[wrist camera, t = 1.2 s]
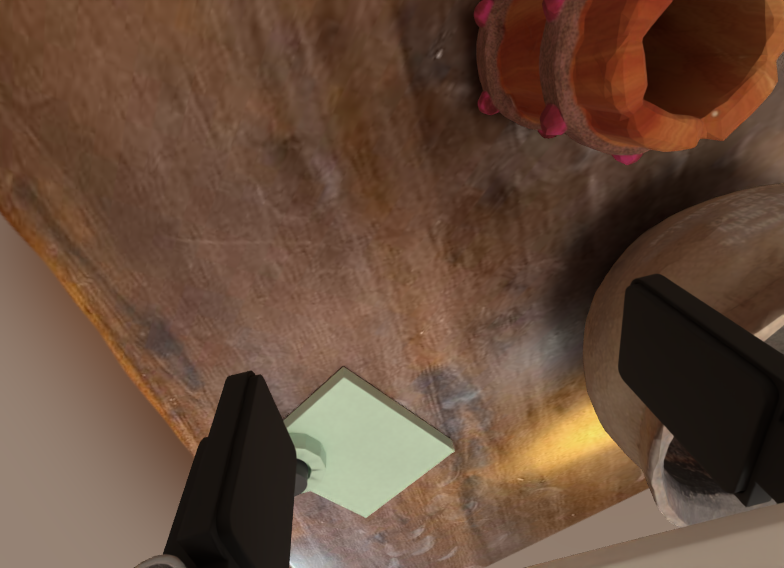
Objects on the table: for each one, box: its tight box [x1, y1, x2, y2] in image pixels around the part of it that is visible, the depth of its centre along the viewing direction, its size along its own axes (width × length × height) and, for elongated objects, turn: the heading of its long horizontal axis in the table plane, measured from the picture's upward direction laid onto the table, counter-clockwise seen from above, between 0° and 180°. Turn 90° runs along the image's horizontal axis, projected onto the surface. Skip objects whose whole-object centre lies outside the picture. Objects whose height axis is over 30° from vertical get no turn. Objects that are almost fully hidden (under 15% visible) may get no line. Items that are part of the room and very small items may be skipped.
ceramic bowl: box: [583, 183, 784, 528], centre depth 29 cm, size 22×22×15 cm
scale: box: [283, 367, 455, 518], centre depth 38 cm, size 14×12×3 cm
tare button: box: [294, 459, 308, 496], centre depth 35 cm, size 3×3×2 cm
